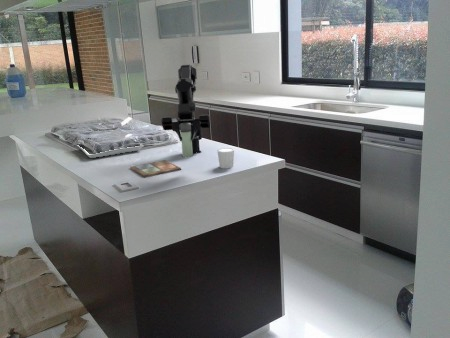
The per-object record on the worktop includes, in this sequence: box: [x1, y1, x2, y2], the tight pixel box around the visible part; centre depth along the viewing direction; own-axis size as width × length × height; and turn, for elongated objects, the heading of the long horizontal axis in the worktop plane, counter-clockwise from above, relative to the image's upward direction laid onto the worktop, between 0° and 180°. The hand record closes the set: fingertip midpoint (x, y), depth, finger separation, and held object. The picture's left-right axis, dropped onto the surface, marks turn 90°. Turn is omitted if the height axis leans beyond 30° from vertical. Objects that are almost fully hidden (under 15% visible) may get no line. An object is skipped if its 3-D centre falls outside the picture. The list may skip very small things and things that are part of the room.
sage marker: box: [179, 122, 194, 158], centre depth 168 cm, size 4×4×13 cm
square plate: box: [76, 143, 145, 159], centre depth 215 cm, size 27×27×4 cm
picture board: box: [129, 159, 182, 178], centre depth 179 cm, size 16×16×1 cm
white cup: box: [217, 147, 235, 169], centre depth 177 cm, size 7×7×7 cm
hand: (186, 140), depth 166 cm, fingers closed on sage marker, 4 cm apart
